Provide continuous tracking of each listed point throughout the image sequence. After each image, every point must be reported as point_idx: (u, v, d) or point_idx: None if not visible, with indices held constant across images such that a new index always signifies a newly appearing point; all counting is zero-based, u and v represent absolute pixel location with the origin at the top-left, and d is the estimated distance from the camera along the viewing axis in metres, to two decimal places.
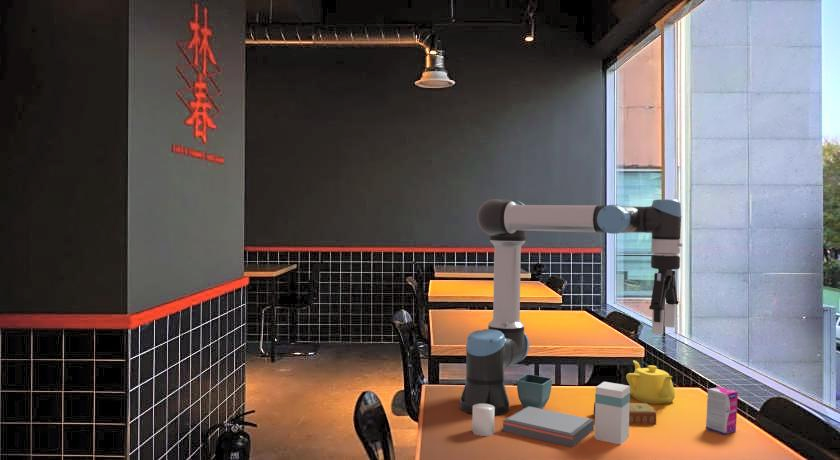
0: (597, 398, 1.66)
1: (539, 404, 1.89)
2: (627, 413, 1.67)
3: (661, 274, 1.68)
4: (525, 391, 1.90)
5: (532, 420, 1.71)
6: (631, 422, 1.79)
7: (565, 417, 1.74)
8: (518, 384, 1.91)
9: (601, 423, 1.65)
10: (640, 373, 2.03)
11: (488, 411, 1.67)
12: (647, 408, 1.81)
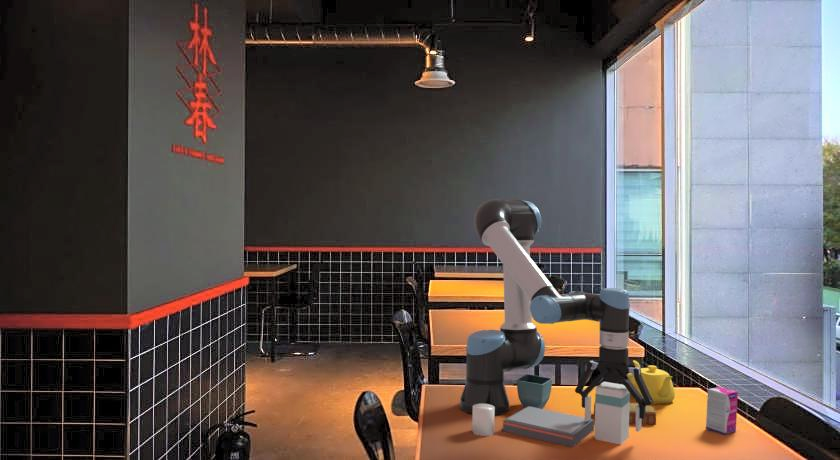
0: (597, 398, 1.66)
1: (539, 404, 1.89)
2: (627, 413, 1.67)
3: (588, 362, 1.70)
4: (525, 391, 1.90)
5: (532, 420, 1.71)
6: (630, 422, 1.79)
7: (565, 417, 1.74)
8: (518, 384, 1.91)
9: (601, 423, 1.65)
10: None
11: (488, 411, 1.67)
12: (647, 408, 1.81)
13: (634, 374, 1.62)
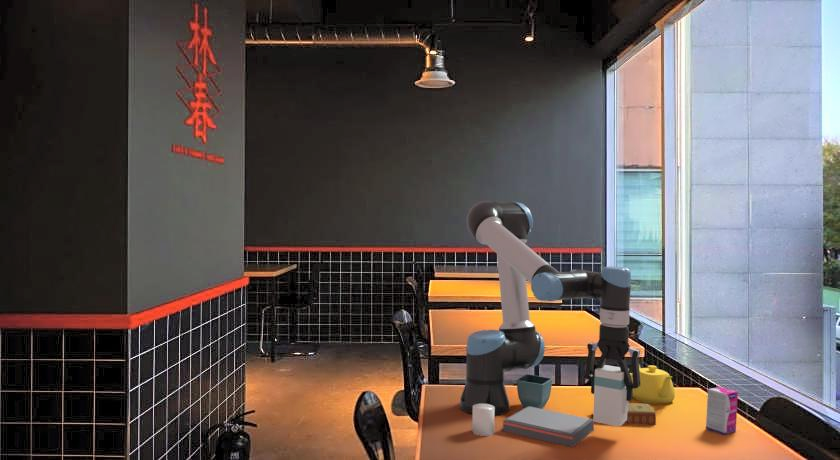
0: (596, 380, 1.66)
1: (539, 404, 1.89)
2: None
3: (588, 344, 1.70)
4: (525, 391, 1.90)
5: (532, 420, 1.71)
6: (630, 422, 1.79)
7: (565, 417, 1.74)
8: (518, 384, 1.91)
9: (600, 405, 1.65)
10: (640, 373, 2.03)
11: (488, 411, 1.67)
12: (647, 408, 1.81)
13: (632, 356, 1.63)
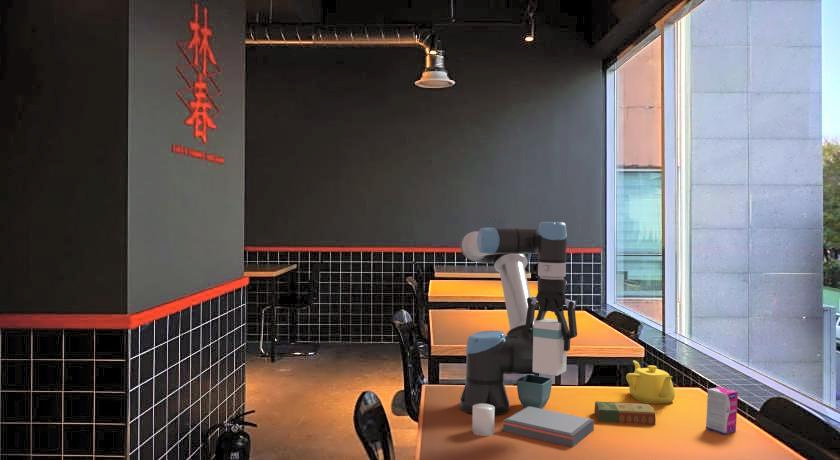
0: (534, 332, 1.70)
1: (539, 404, 1.89)
2: None
3: None
4: (525, 391, 1.90)
5: (532, 420, 1.71)
6: (629, 422, 1.79)
7: (565, 417, 1.74)
8: (518, 384, 1.91)
9: (538, 356, 1.70)
10: (640, 373, 2.03)
11: (488, 411, 1.67)
12: (647, 408, 1.81)
13: (568, 306, 1.67)
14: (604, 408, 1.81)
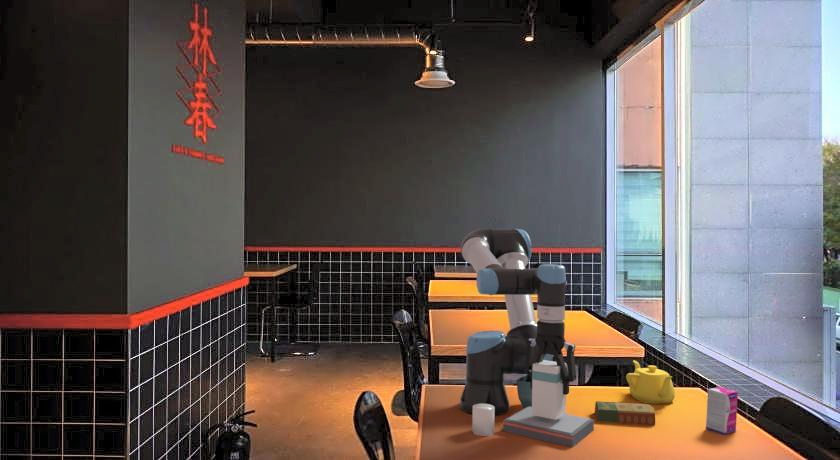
0: (534, 375, 1.70)
1: None
2: None
3: None
4: (525, 391, 1.90)
5: (532, 420, 1.71)
6: (629, 422, 1.79)
7: (565, 417, 1.74)
8: (518, 384, 1.91)
9: (537, 399, 1.70)
10: (640, 373, 2.03)
11: (488, 411, 1.67)
12: (646, 409, 1.81)
13: (567, 350, 1.68)
14: (604, 408, 1.82)
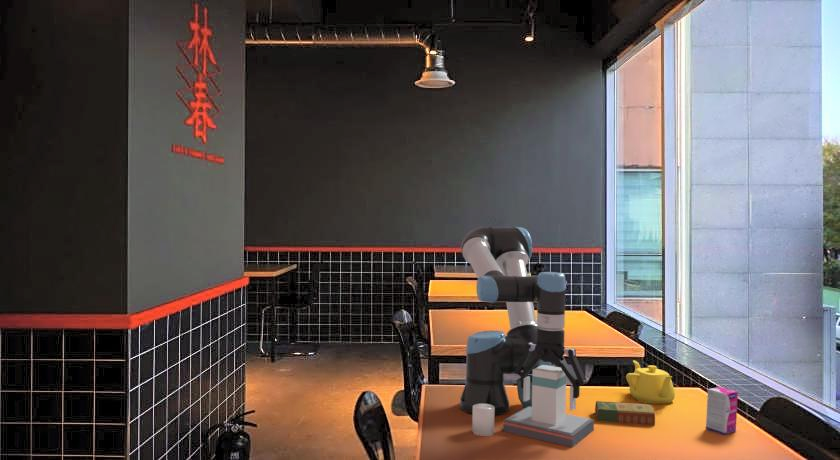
0: (534, 380, 1.70)
1: None
2: (563, 395, 1.71)
3: (527, 343, 1.75)
4: None
5: (532, 420, 1.71)
6: (628, 422, 1.79)
7: (565, 417, 1.74)
8: (518, 384, 1.91)
9: (537, 404, 1.70)
10: (640, 373, 2.03)
11: (488, 411, 1.67)
12: (646, 409, 1.81)
13: (568, 355, 1.67)
14: (603, 408, 1.82)
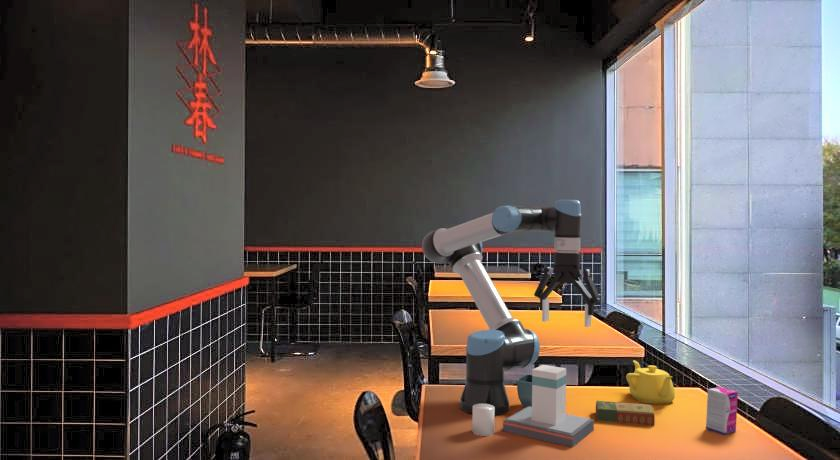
0: (534, 380, 1.70)
1: None
2: (563, 395, 1.71)
3: None
4: (525, 391, 1.90)
5: (532, 420, 1.71)
6: (628, 422, 1.79)
7: (565, 417, 1.74)
8: (518, 384, 1.91)
9: (537, 404, 1.70)
10: (640, 373, 2.03)
11: (488, 411, 1.67)
12: (646, 409, 1.80)
13: (583, 275, 1.79)
14: (603, 407, 1.82)
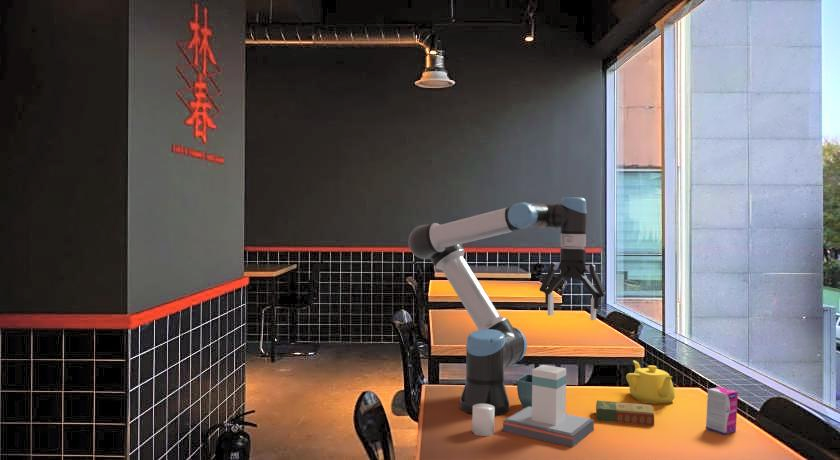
0: (534, 380, 1.70)
1: None
2: (563, 395, 1.71)
3: (551, 263, 1.93)
4: (525, 391, 1.90)
5: (532, 420, 1.71)
6: (627, 422, 1.79)
7: (565, 417, 1.74)
8: (518, 384, 1.91)
9: (537, 404, 1.70)
10: (640, 373, 2.03)
11: (488, 411, 1.67)
12: (646, 409, 1.80)
13: (590, 270, 1.85)
14: (602, 407, 1.82)
